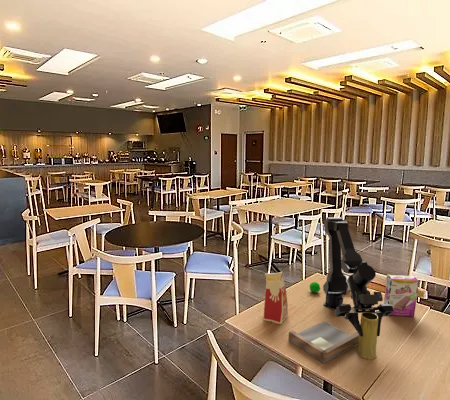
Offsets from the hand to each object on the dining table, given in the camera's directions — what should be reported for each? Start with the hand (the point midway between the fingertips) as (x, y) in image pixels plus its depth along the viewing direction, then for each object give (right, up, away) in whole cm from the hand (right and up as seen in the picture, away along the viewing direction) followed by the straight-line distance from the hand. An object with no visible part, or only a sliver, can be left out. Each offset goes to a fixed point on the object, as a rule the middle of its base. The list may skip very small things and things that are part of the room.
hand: (370, 336), depth 111 cm
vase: (0, -7, +3) cm, 8 cm away
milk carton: (-28, -3, +27) cm, 39 cm away
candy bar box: (+25, -3, +30) cm, 39 cm away
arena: (-12, -6, +10) cm, 17 cm away
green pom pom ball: (-5, +1, +50) cm, 50 cm away
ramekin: (+8, +2, +54) cm, 55 cm away
